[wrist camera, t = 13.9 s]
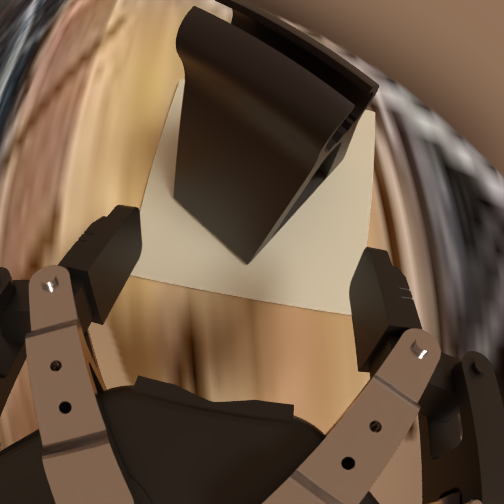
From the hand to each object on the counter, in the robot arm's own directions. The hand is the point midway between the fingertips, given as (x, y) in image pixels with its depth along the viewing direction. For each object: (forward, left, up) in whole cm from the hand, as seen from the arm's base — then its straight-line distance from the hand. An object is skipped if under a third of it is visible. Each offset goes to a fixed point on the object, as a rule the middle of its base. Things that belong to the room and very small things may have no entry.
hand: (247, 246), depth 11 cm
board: (0, +5, -8) cm, 10 cm away
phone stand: (0, +5, -8) cm, 10 cm away
